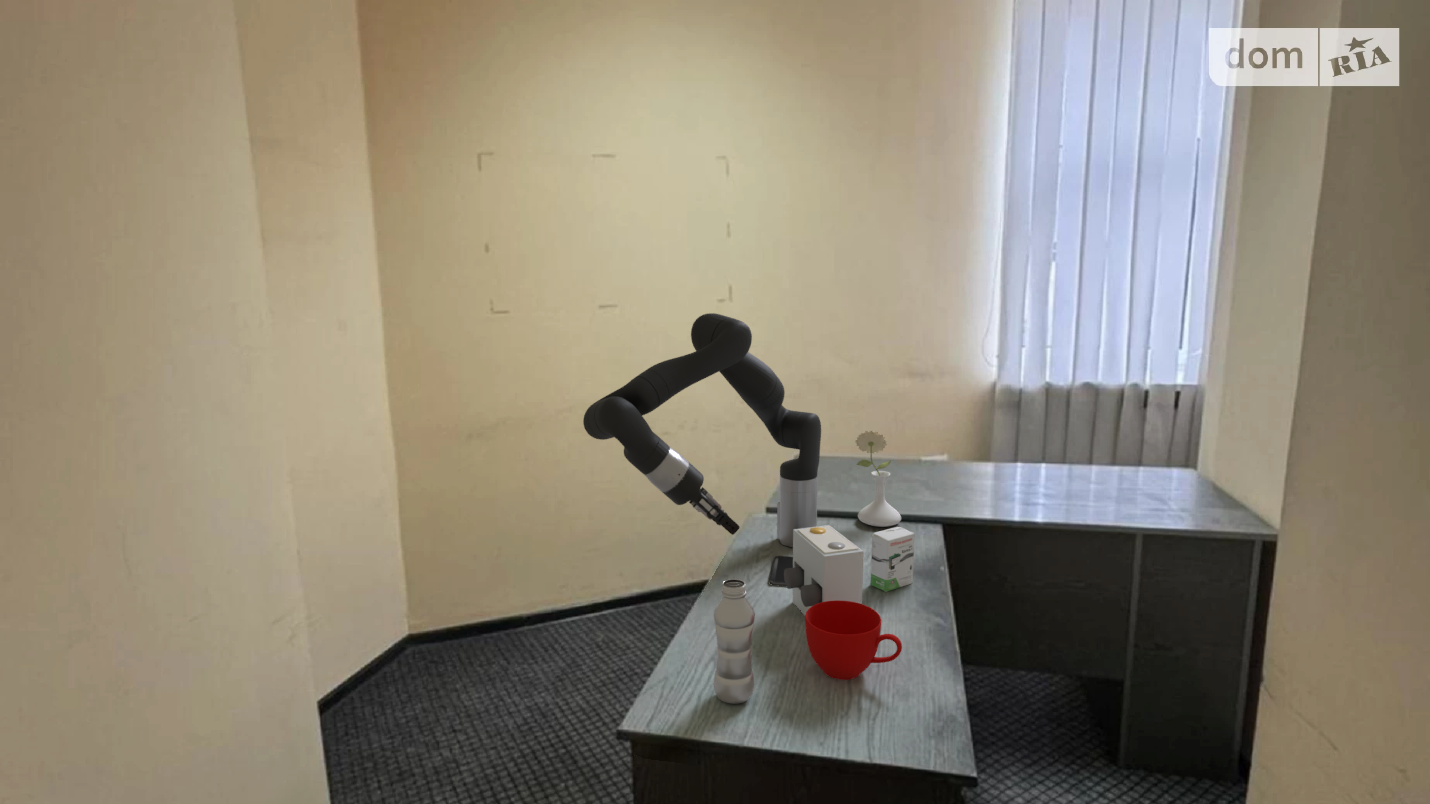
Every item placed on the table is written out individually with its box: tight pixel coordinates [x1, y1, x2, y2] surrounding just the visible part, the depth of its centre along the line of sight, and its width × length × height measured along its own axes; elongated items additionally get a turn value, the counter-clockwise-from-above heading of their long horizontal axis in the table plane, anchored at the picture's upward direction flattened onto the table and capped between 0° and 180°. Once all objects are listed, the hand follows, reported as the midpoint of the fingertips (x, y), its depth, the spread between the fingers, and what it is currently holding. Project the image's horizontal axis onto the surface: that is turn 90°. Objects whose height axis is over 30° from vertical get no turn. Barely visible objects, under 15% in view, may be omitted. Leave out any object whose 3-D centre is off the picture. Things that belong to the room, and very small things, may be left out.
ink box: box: [870, 526, 915, 593], centre depth 168 cm, size 9×5×12 cm, turn 123°
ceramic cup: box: [804, 600, 903, 681], centre depth 133 cm, size 13×17×10 cm
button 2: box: [801, 583, 822, 607], centre depth 148 cm, size 4×4×4 cm
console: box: [792, 524, 864, 616], centre depth 153 cm, size 8×15×16 cm, turn 17°
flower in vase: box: [855, 430, 902, 528], centre depth 205 cm, size 13×11×25 cm
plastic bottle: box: [713, 578, 756, 705], centre depth 125 cm, size 6×7×20 cm
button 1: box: [784, 567, 804, 589], centre depth 156 cm, size 4×4×4 cm
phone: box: [768, 555, 793, 587], centre depth 176 cm, size 8×1×15 cm
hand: (735, 530), depth 150 cm, fingers closed
